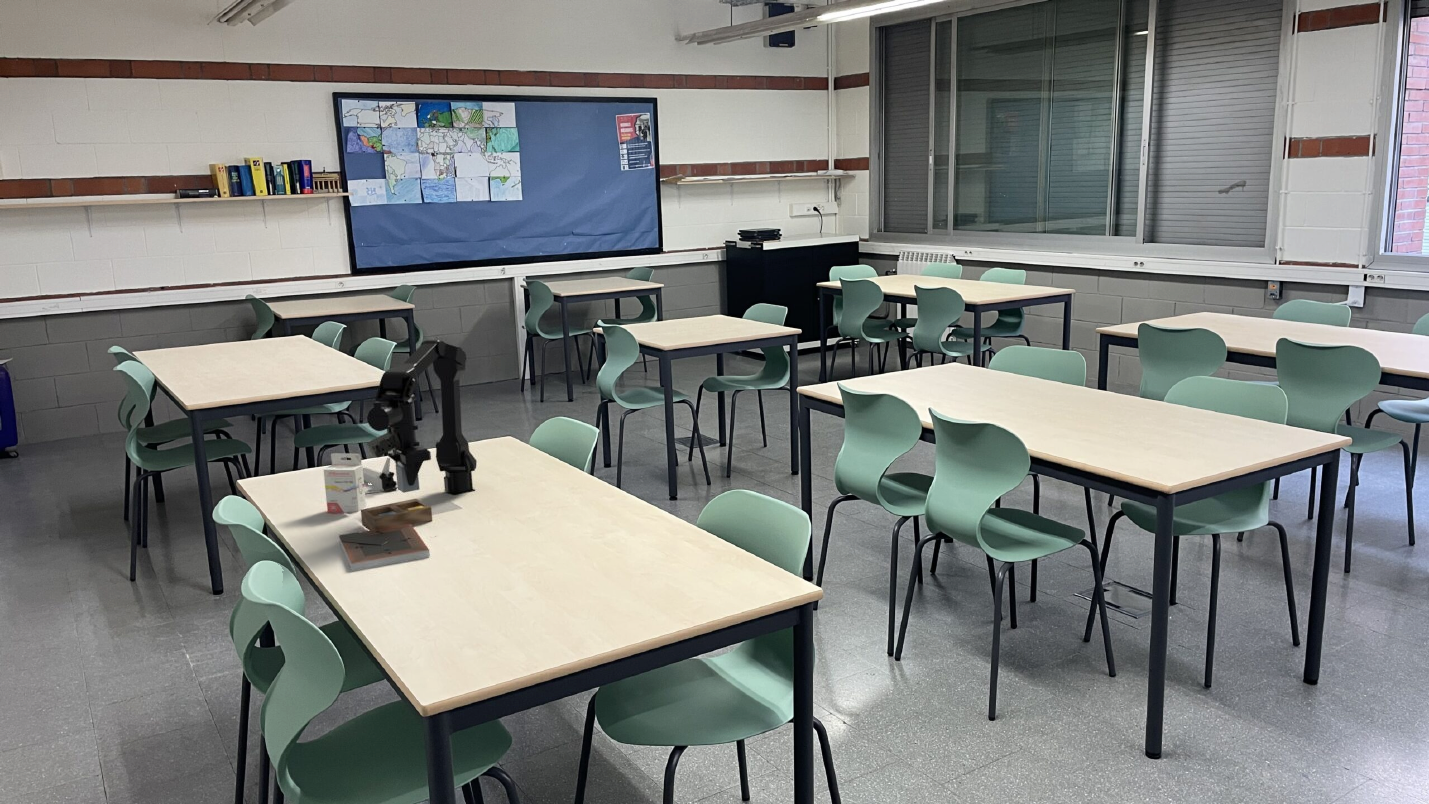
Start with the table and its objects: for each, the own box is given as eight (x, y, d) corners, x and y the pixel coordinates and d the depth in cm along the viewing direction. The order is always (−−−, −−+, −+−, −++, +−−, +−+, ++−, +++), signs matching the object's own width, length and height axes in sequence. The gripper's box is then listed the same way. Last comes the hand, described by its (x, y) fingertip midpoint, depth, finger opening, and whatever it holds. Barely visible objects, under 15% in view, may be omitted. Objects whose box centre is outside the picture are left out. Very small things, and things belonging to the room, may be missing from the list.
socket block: (417, 513, 259) (416, 497, 258) (432, 522, 251) (431, 506, 250) (362, 525, 250) (360, 508, 250) (376, 535, 243) (374, 518, 242)
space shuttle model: (386, 471, 303) (383, 438, 301) (420, 488, 284) (417, 453, 282) (334, 481, 293) (330, 447, 291) (365, 499, 274) (361, 463, 272)
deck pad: (450, 503, 267) (450, 501, 267) (462, 510, 260) (462, 508, 260) (420, 509, 262) (420, 507, 262) (432, 516, 256) (432, 514, 256)
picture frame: (339, 545, 239) (352, 573, 220) (338, 534, 238) (351, 562, 219) (411, 532, 246) (430, 559, 227) (410, 522, 245) (429, 548, 226)
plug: (413, 486, 254) (411, 458, 252) (419, 489, 251) (416, 462, 249) (397, 489, 251) (395, 461, 250) (403, 492, 248) (400, 464, 247)
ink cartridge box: (326, 513, 261) (320, 457, 258) (335, 507, 266) (329, 453, 263) (358, 513, 260) (353, 457, 257) (367, 507, 265) (361, 452, 262)
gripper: (356, 420, 250) (362, 482, 253) (382, 433, 236) (388, 498, 239) (401, 413, 257) (406, 473, 260) (429, 426, 242) (434, 489, 245)
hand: (408, 483), depth 251 cm, fingers closed on plug, 4 cm apart
